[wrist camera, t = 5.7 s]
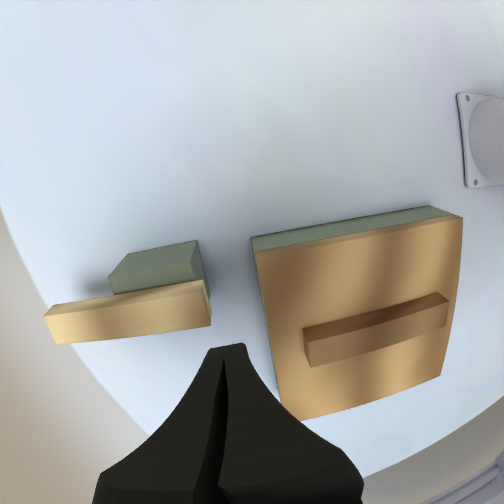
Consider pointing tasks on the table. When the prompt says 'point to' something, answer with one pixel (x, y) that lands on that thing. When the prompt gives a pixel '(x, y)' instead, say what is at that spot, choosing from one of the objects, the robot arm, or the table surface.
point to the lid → (360, 313)
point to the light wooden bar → (131, 314)
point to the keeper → (158, 268)
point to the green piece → (339, 233)
